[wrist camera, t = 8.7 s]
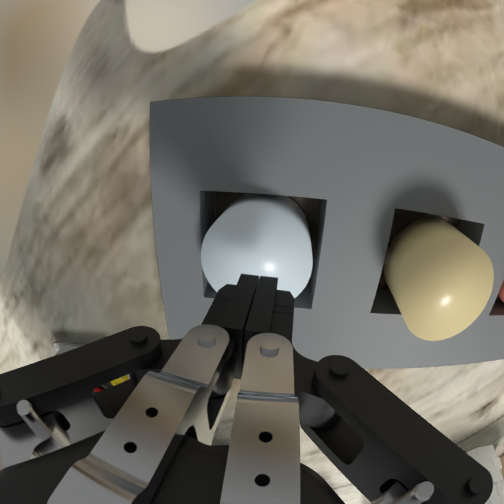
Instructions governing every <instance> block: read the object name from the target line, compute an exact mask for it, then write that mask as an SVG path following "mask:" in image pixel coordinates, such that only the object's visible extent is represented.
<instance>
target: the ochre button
mask: <svg viewBox="0 0 504 504" xmlns="http://www.w3.org/2000/svg"><path fill="white" fill-rule="evenodd" d="M384 276H385V280H386V282H387V285H388V287H389V289H390V291H391V293H392V295H393V297H394V299H395V301H396V303H397V306H398V308H399V310H400V312H401V314H402V316H403V318H404V321H405V323H406V325H407V327H408V329H409V330H410V331H411V333H412V334H414V335H415V336H416V337H418V338H420V339H423V340H427V341H439V340H444V339H447V338H450V337H452V336H455V335H457V334H458V333H460V332H462V331H463V330H465V329H466V328H467V327H468V326H470V325H471V324H472V323H473V322H474V321H475V320H476V319H477V317H478V316H479V315H480V314H481V312H482V311H483V309H484V308H485V306H486V304H487V302H488V300H489V298H490V295H491V292H492V288H493V282H494V271H493V266H492V262H491V260H490V258H489V256H488V255H487V254H486V252H485V251H484V250H482V249H481V248H480V247H479V246H478V245H476V244H475V243H474V242H473V241H471V240H470V239H469V238H468V237H466V236H465V235H464V234H462V233H461V232H460V231H459V230H457V229H456V228H455V227H453V226H452V225H451V224H449V223H448V222H446V221H444V220H442V219H439V218H433V217H428V218H422V219H419V220H416V221H414V222H412V223H410V224H408V225H407V226H406V227H404V228H403V229H402V230H401V231H400V232H399V233H398V234H397V235H396V236H395V238H394V239H393V241H392V242H391V244H390V246H389V248H388V250H387V253H386V256H385V261H384Z"/></svg>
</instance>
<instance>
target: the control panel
mask: <svg viewBox="0 0 504 504" xmlns="http://www.w3.org/2000/svg"><path fill="white" fill-rule="evenodd" d="M150 170H151V191H152V207H153V220H154V231H155V242H156V251H157V260H158V268H159V276H160V284H161V291H162V297H163V304H164V310H165V316H166V322H167V328H168V334H169V339H170V340H172V339H182V338H184V336H185V335H186V333H187V332H188V331H189V330H190V329H192V328H193V327H196V326H199V325H201V324H202V322H203V320H204V318H205V316H206V314H207V312H208V310H209V308H210V306H211V305H212V302H213V300H214V299H215V296H216V294H217V292H216V291H215V290H214V288H213V287H212V286H211V285H210V283H209V282H208V280H207V278H206V276H205V274H204V271H203V268H202V264H201V248H202V243H203V240H204V237H205V235H206V233H207V232H208V230H209V229H210V227H211V226H212V225H213V224H214V222H215V191H223V192H241V193H257V194H271V195H283V196H295V197H306V198H316V199H321V203H320V212H319V221H318V230H317V238H316V246H315V253H314V261H313V268H312V275H311V281H310V283H307V285H306V287H305V288H304V289H303V291H302V292H301V293H300V294H299V295H298V296H297V297H296V298H294V299H295V301H294V318H293V333H292V344H293V347H294V348H295V350H296V351H297V352H298V353H299V354H301V355H302V356H304V357H306V358H308V359H311V360H314V361H317V362H318V361H319V360H321V359H322V358H324V357H326V356H329V355H342V356H346V357H348V358H350V359H352V360H354V361H355V362H356V363H357V364H359V365H360V366H361V367H362V368H365V369H390V368H422V367H438V366H451V365H461V364H471V363H479V362H486V361H493V360H500V359H504V302H503V301H502V300H501V299H500V298H499V296H498V293H499V290H500V288H501V285H502V283H503V280H504V147H502V146H500V145H497V144H495V143H493V142H490V141H487V140H485V139H482V138H480V137H477V136H474V135H472V134H469V133H466V132H463V131H460V130H457V129H454V128H451V127H448V126H444V125H441V124H438V123H434V122H431V121H427V120H423V119H420V118H416V117H412V116H407V115H403V114H399V113H394V112H390V111H385V110H380V109H375V108H369V107H363V106H357V105H351V104H344V103H337V102H329V101H320V100H310V99H298V98H283V97H255V96H229V97H201V98H186V99H174V100H164V101H156V102H150ZM395 208H397V209H404V210H410V211H417V212H423V213H429V214H435V215H440V216H446V217H451V218H457V219H459V224H458V228H457V230H459V231H460V232H461V233H462V234H464V235H465V236H466V237H468V238H469V239H470V240H471V241H473V242H474V243H475V244H476V245H478V246H479V247H480V248H481V249H482V250H484V251H485V252H486V254H487V255H488V256H489V258H490V260H491V262H492V266H493V271H494V282H493V288H492V292H491V295H490V298H489V300H488V302H487V304H486V306H485V308H484V309H483V311H482V312H481V314H480V315H479V316H478V317H477V319H476V320H475V321H474V322H473V323H472V324H471V325H470V326H468V327H467V328H466V329H465V330H463V331H462V332H460V333H458V334H457V335H455V336H452V337H450V338H447V339H444V340H439V341H427V340H423V339H420V338H418V337H416V336H415V335H414V334H412V333H411V331H410V330H409V329H408V327H407V325H406V323H405V321H404V318H403V316H402V314H401V312H400V310H399V308H398V306H397V303H396V301H395V299H394V297H393V295H392V293H391V291H390V290H389V289H377V287H378V284H379V280H380V276H381V272H382V268H383V264H384V260H385V255H386V251H387V246H388V242H389V237H390V232H391V227H392V222H393V216H394V211H395Z"/></svg>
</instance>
